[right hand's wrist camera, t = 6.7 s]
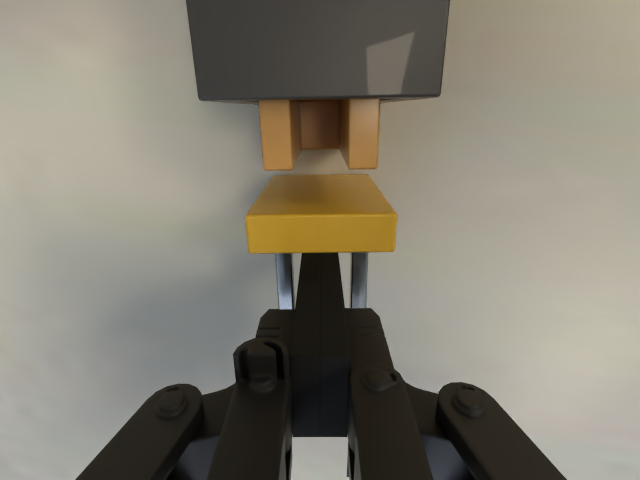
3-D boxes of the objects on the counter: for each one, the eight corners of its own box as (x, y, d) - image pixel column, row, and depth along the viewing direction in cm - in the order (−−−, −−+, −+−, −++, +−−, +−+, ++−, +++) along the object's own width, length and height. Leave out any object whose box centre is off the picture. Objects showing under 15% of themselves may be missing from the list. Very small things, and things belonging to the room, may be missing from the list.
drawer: (363, 311, 18) (384, 409, 12) (281, 312, 18) (262, 410, 12) (383, -253, 11) (458, -681, 5) (246, -250, 11) (160, -671, 5)
